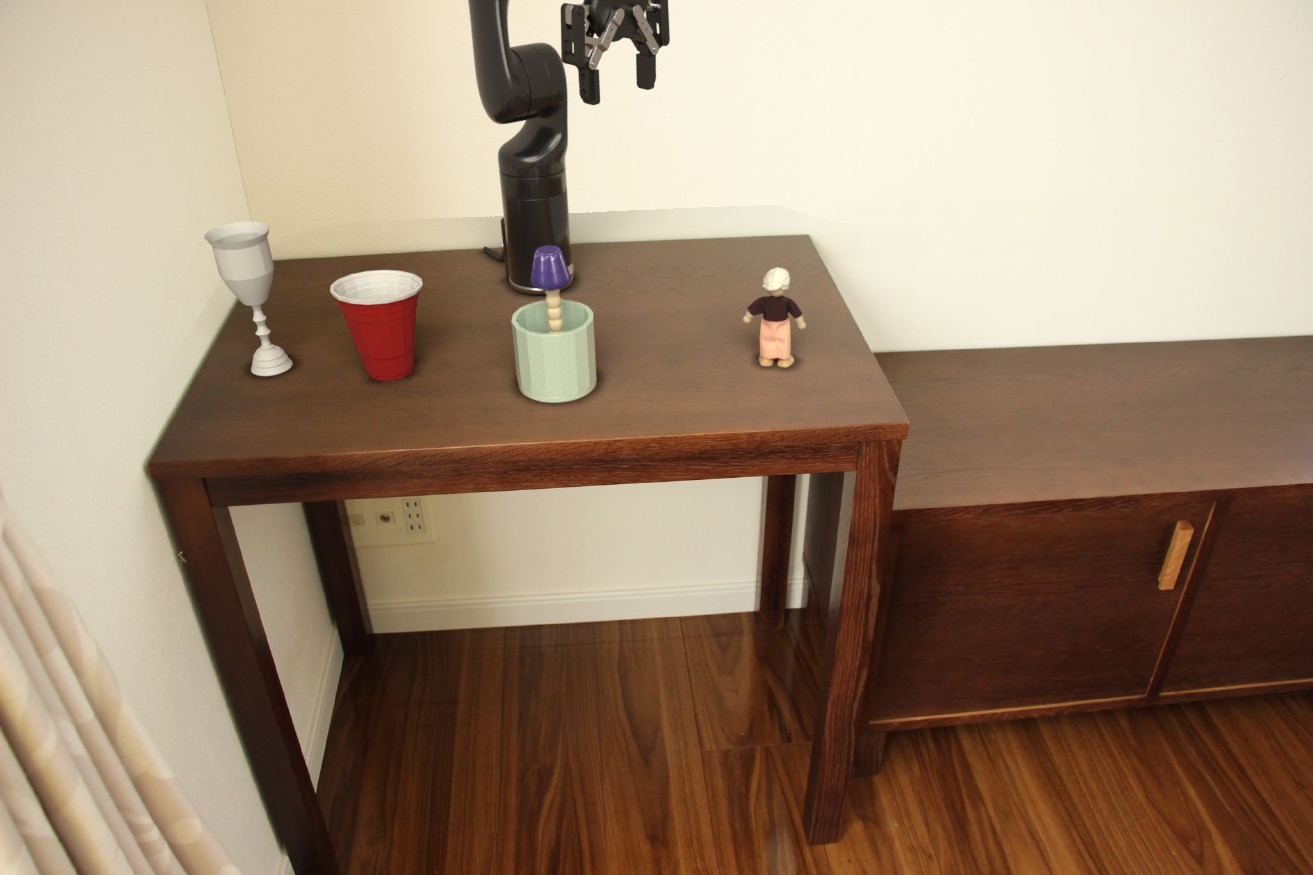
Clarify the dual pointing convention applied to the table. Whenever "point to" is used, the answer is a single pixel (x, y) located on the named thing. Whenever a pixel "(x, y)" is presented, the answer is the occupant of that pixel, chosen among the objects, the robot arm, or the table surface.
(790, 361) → the grandmother figurine
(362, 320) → the plastic cup
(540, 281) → the toy lamp
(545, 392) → the glazed cup
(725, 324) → the table surface
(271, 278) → the chalice
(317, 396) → the table surface
